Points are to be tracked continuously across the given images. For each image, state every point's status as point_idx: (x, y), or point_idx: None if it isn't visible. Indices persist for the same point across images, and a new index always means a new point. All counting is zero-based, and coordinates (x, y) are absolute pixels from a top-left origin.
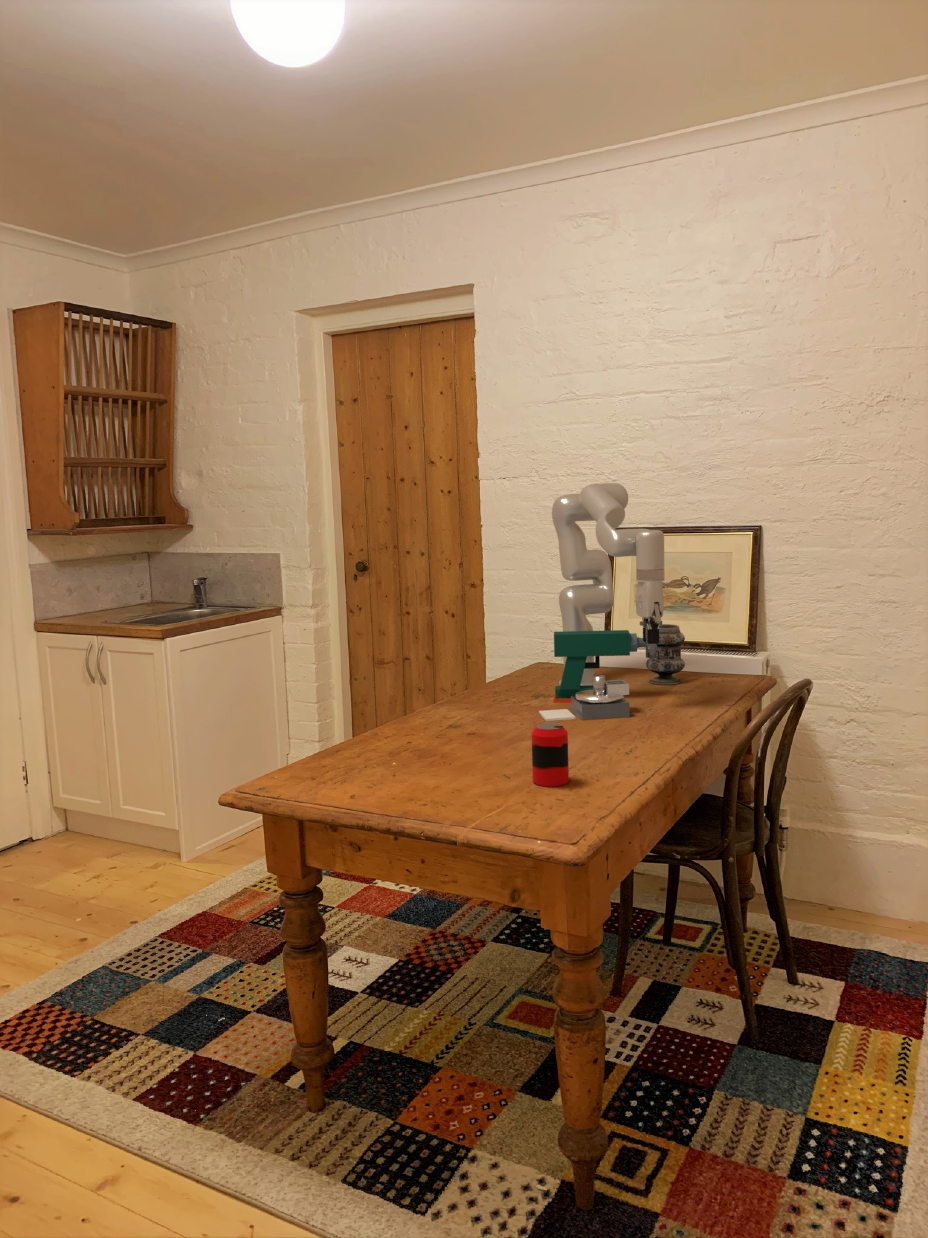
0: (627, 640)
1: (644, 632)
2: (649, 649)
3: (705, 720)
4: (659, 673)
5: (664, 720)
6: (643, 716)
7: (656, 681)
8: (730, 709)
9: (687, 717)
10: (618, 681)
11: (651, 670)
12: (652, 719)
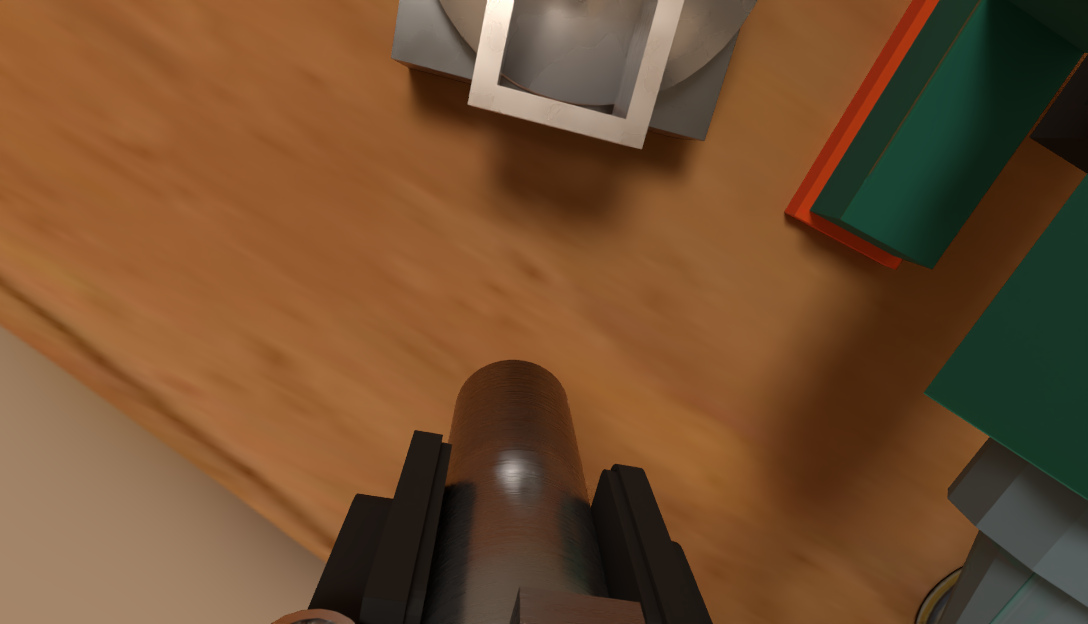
0: (1078, 458)
1: (627, 569)
2: (468, 420)
3: (189, 381)
4: None
5: (260, 205)
6: (395, 153)
7: None
8: None
9: (282, 341)
10: (629, 98)
11: None
12: (307, 159)
